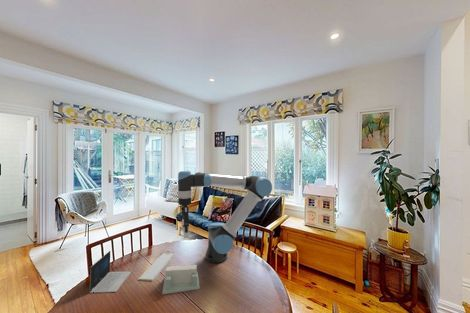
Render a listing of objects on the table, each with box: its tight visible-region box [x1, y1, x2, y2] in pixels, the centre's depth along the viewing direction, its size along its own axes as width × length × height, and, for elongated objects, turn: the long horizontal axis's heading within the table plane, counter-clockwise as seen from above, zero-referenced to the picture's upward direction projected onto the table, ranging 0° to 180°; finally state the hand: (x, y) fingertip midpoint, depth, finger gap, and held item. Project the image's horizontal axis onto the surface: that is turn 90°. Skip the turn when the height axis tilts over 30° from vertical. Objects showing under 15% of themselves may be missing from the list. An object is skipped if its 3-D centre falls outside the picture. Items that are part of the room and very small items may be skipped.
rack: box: [161, 264, 200, 295], centre depth 107 cm, size 18×14×6 cm
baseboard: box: [137, 250, 175, 282], centre depth 124 cm, size 30×3×10 cm
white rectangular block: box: [164, 264, 198, 284], centre depth 107 cm, size 16×4×7 cm, turn 98°
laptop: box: [89, 250, 132, 294], centre depth 107 cm, size 18×12×13 cm
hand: (185, 233), depth 117 cm, fingers open, 13 cm apart
